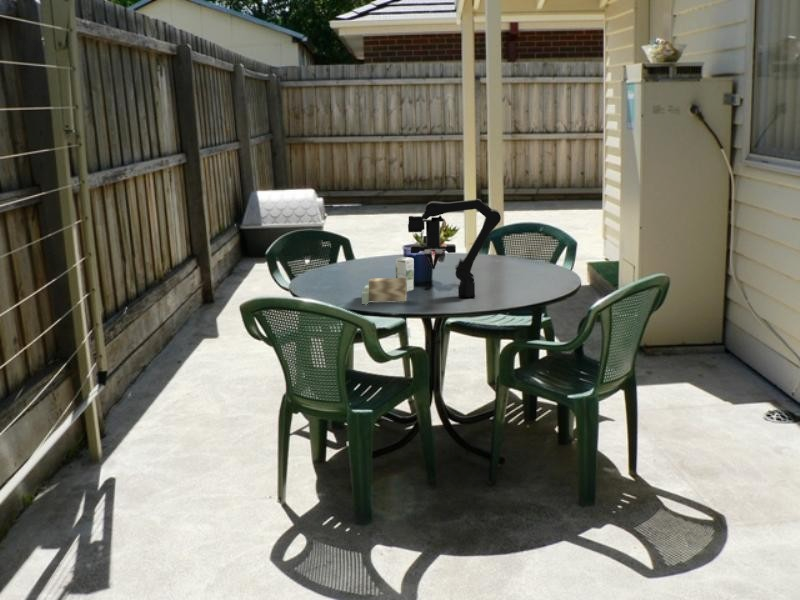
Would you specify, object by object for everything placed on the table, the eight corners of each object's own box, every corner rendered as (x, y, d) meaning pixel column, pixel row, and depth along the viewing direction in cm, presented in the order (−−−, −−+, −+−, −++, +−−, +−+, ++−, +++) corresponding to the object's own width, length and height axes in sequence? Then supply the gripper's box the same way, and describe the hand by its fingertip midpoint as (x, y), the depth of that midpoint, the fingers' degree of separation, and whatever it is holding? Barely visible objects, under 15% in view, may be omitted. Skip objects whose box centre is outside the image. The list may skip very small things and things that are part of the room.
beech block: (406, 299, 364) (406, 278, 362) (405, 302, 358) (405, 281, 356) (371, 299, 365) (370, 278, 363) (369, 302, 360) (368, 281, 357)
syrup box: (404, 288, 384) (403, 256, 380) (414, 290, 380) (413, 257, 377) (395, 291, 379) (395, 258, 376) (406, 292, 376) (405, 259, 372)
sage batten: (372, 296, 370) (371, 285, 369) (368, 305, 354) (367, 293, 353) (366, 296, 370) (365, 285, 369) (362, 305, 355) (361, 293, 353)
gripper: (455, 229, 367) (455, 265, 371) (411, 229, 368) (412, 265, 372) (455, 233, 356) (455, 270, 360) (410, 233, 358) (410, 270, 361)
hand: (433, 269), depth 363 cm, fingers closed
